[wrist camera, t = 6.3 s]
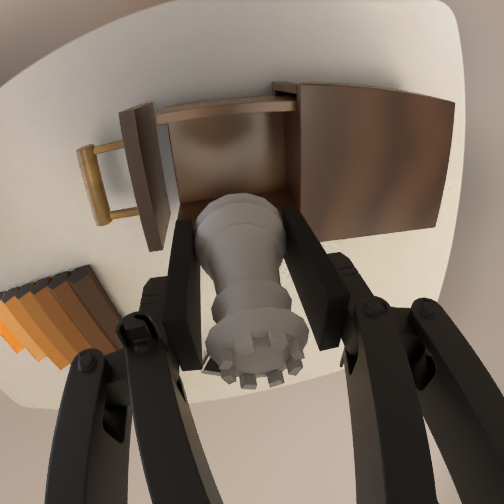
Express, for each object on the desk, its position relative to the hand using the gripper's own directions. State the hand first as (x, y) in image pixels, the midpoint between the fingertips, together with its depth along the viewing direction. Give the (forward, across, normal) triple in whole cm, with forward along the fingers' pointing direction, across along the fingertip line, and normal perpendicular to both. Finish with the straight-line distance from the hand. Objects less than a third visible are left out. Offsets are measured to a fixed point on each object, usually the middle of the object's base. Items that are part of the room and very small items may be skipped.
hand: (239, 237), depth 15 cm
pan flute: (+15, -28, -24) cm, 40 cm away
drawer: (+14, -3, +1) cm, 15 cm away
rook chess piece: (0, 0, 0) cm, 1 cm away
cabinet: (+15, +12, +1) cm, 20 cm away
